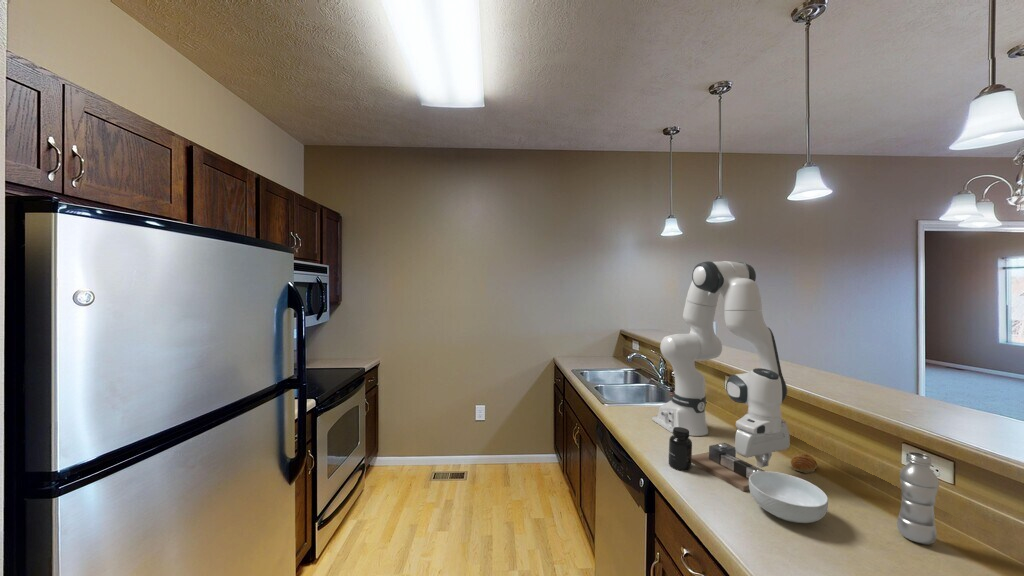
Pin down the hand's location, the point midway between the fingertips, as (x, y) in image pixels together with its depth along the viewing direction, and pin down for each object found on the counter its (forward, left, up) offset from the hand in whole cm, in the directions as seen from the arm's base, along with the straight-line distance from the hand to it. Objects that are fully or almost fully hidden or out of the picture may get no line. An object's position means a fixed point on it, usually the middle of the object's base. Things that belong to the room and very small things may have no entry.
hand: (762, 466), depth 121 cm
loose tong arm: (-1, -8, -1) cm, 8 cm away
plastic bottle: (+34, +4, -3) cm, 35 cm away
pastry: (+2, +17, -3) cm, 18 cm away
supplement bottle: (-13, -21, -3) cm, 24 cm away
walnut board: (-5, -8, -3) cm, 9 cm away
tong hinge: (-9, -7, -1) cm, 11 cm away
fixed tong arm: (-1, -10, -1) cm, 10 cm away
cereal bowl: (+16, -14, -3) cm, 22 cm away
